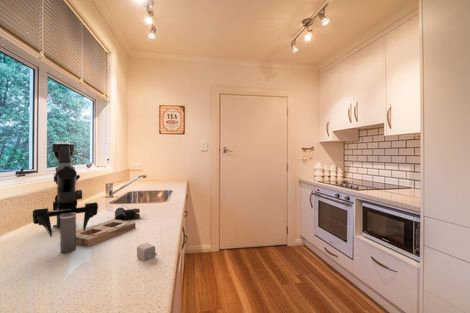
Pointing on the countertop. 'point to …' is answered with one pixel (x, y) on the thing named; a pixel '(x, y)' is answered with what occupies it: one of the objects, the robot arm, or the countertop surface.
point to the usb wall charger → (146, 252)
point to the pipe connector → (126, 214)
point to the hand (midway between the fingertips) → (68, 233)
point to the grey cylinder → (68, 232)
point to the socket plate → (102, 231)
